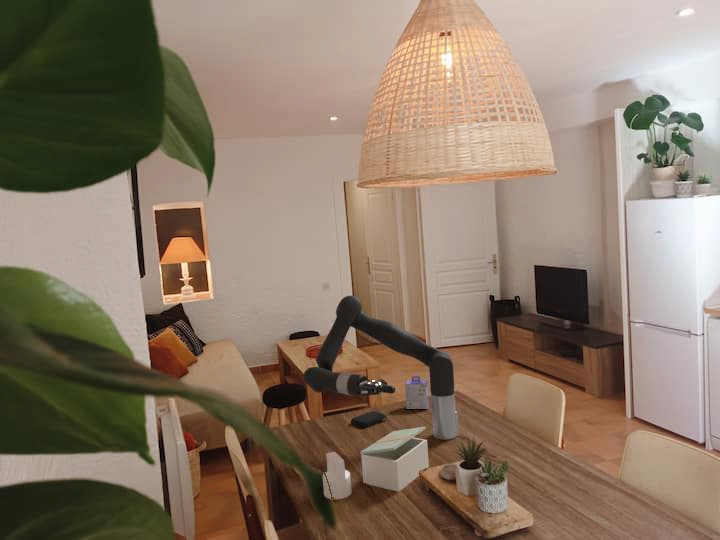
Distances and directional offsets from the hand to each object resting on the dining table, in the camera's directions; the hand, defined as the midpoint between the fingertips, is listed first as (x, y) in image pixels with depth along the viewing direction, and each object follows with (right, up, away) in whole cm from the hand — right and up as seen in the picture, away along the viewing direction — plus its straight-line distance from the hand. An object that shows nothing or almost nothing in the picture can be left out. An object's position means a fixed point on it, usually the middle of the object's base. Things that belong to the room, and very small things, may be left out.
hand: (394, 390), depth 197 cm
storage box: (+1, -30, +4) cm, 30 cm away
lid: (0, -18, +3) cm, 18 cm away
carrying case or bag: (-7, -26, +58) cm, 64 cm away
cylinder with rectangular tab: (-19, -32, -6) cm, 38 cm away
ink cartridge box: (+15, -23, +71) cm, 77 cm away
